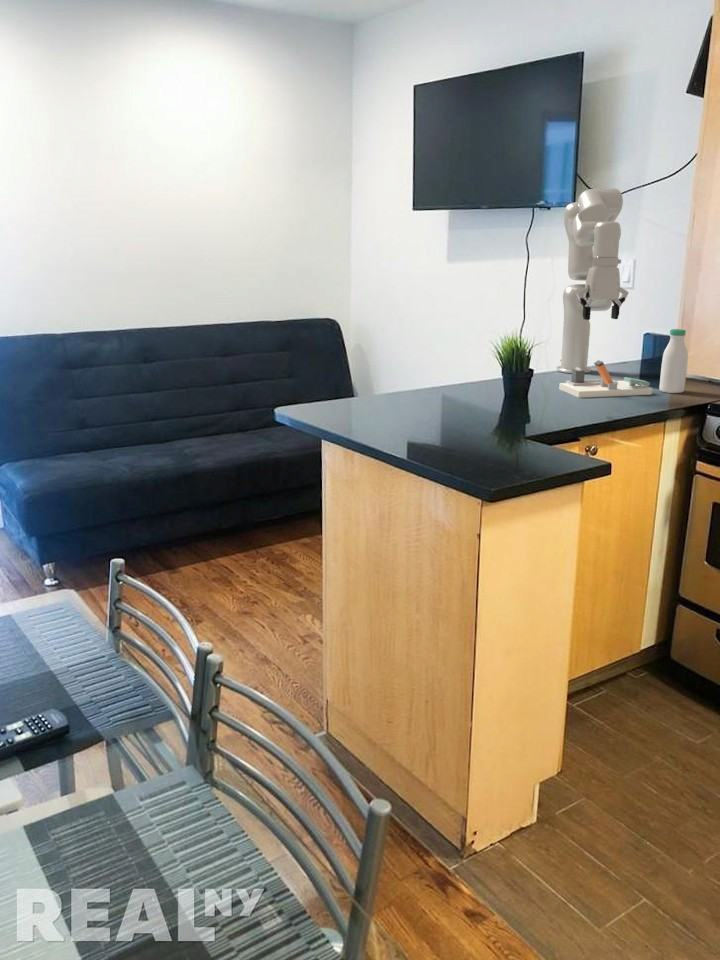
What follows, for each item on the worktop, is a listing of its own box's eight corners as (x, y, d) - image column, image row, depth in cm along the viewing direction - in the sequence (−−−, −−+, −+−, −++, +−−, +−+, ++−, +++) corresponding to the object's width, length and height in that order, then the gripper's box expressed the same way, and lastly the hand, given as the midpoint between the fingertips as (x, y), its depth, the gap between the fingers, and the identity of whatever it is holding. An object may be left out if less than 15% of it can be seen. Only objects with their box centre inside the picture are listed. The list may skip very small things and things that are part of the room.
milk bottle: (687, 393, 262) (694, 330, 256) (663, 393, 262) (670, 331, 256) (679, 389, 269) (685, 328, 263) (655, 389, 269) (661, 328, 264)
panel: (559, 389, 271) (559, 377, 270) (628, 386, 275) (629, 374, 274) (578, 397, 257) (579, 385, 255) (651, 394, 261) (652, 382, 260)
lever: (604, 384, 263) (593, 362, 260) (608, 381, 263) (597, 360, 260) (610, 386, 260) (599, 364, 257) (614, 384, 260) (603, 361, 257)
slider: (571, 383, 269) (572, 367, 268) (579, 382, 270) (580, 367, 268) (575, 384, 266) (576, 369, 265) (583, 384, 267) (585, 368, 265)
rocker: (622, 380, 264) (623, 376, 264) (641, 384, 266) (642, 380, 265) (630, 383, 259) (632, 379, 258) (650, 387, 260) (651, 383, 260)
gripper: (623, 262, 258) (619, 317, 263) (573, 263, 255) (569, 318, 259) (636, 263, 251) (631, 319, 256) (584, 263, 248) (580, 321, 252)
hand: (600, 319), depth 258 cm, fingers open, 9 cm apart
